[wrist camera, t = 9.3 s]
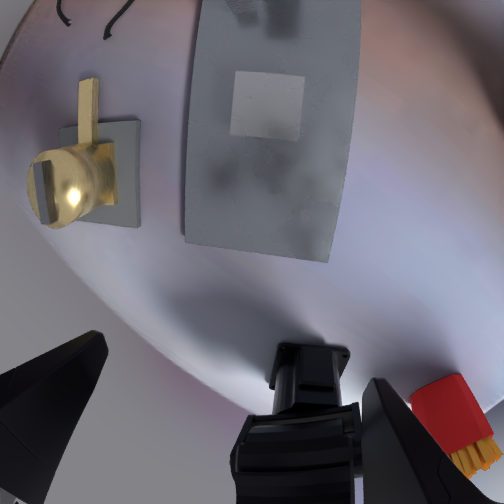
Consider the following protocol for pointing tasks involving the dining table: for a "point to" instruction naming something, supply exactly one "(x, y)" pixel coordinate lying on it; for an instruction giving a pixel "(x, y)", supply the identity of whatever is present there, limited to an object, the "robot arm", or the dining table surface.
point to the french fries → (456, 423)
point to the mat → (126, 171)
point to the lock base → (262, 167)
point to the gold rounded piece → (75, 170)
